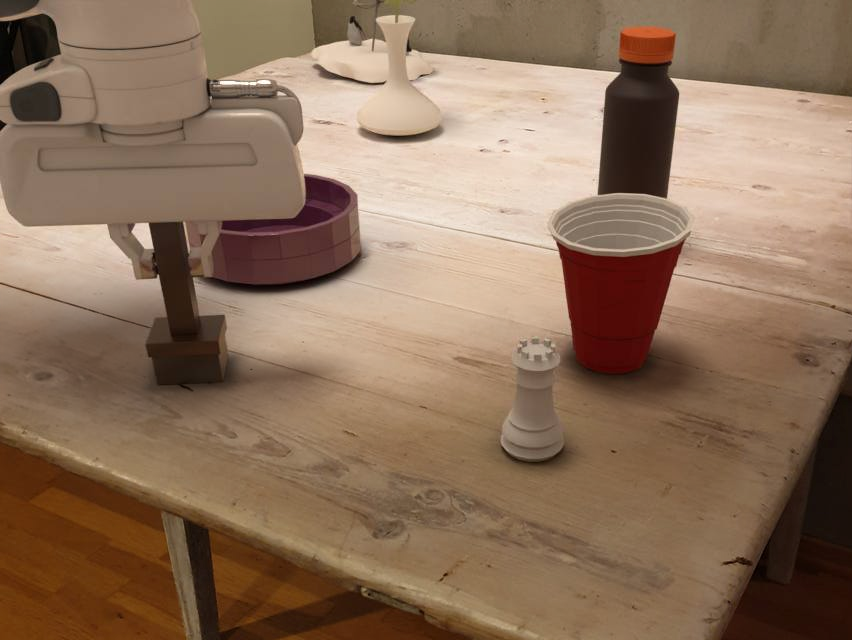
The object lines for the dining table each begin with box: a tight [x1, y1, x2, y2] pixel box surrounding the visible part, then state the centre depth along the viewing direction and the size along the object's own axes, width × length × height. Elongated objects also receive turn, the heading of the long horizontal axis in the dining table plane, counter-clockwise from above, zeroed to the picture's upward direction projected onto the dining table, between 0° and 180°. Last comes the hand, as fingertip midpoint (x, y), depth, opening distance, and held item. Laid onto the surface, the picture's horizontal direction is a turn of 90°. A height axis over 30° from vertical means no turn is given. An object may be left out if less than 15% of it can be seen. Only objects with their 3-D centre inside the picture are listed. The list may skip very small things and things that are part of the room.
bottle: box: [597, 26, 680, 199], centre depth 92 cm, size 7×7×20 cm
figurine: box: [309, 0, 434, 84], centre depth 151 cm, size 20×18×16 cm
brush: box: [144, 222, 229, 386], centre depth 73 cm, size 5×4×13 cm
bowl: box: [183, 173, 362, 286], centre depth 93 cm, size 16×16×6 cm
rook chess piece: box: [500, 336, 565, 463], centre depth 65 cm, size 4×4×8 cm
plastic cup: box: [546, 193, 695, 375], centre depth 75 cm, size 11×11×12 cm
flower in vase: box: [355, 0, 444, 137], centre depth 122 cm, size 13×11×25 cm
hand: (175, 275), depth 72 cm, fingers open, 3 cm apart
